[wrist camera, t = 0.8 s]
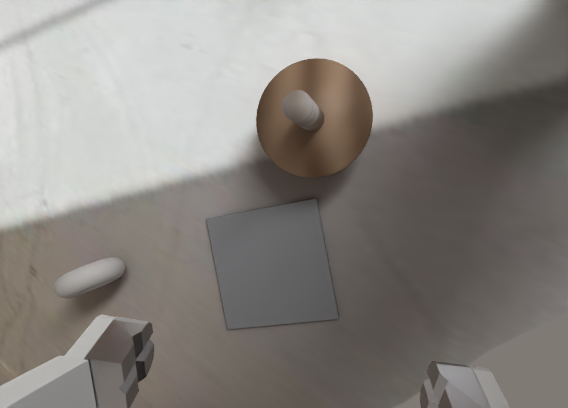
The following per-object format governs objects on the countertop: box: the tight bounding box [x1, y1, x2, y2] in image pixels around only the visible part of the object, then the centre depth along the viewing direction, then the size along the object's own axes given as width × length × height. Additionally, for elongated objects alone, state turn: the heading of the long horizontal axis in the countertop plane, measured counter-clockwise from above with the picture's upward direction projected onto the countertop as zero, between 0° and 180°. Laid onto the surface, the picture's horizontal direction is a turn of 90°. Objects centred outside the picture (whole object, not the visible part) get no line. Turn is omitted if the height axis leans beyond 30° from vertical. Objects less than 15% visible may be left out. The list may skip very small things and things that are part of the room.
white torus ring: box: [54, 257, 125, 299], centre depth 56 cm, size 10×4×10 cm, turn 116°
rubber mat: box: [206, 198, 339, 329], centre depth 54 cm, size 17×17×1 cm
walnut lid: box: [256, 59, 373, 178], centre depth 41 cm, size 14×14×9 cm
